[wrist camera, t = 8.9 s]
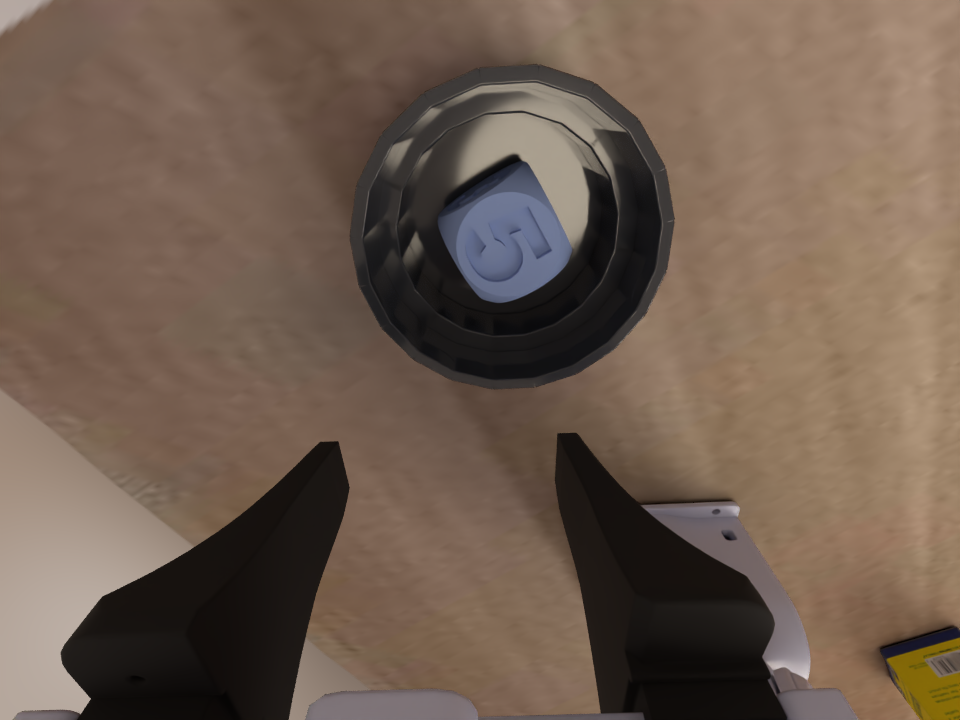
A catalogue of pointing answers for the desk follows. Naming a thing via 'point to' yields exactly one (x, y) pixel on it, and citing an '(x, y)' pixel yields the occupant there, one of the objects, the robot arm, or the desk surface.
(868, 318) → the desk surface
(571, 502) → the robot arm
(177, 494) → the desk surface
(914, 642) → the supplement box
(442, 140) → the dark grey round bowl
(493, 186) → the decorative dice
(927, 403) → the desk surface
